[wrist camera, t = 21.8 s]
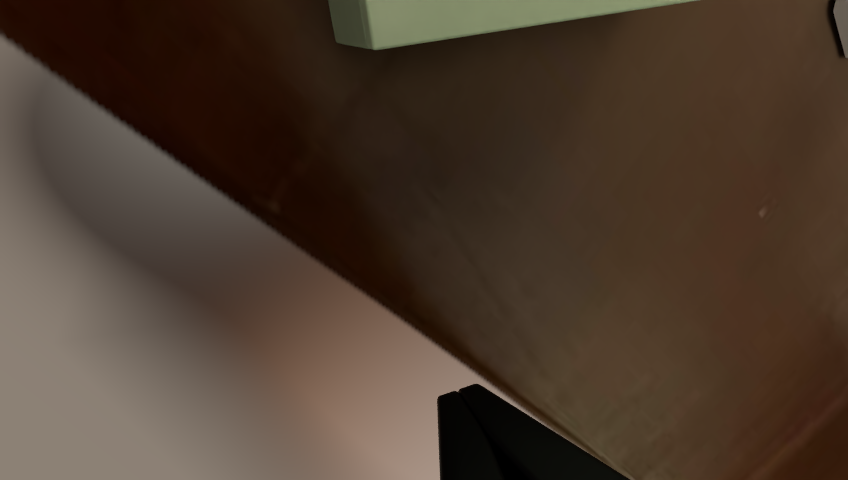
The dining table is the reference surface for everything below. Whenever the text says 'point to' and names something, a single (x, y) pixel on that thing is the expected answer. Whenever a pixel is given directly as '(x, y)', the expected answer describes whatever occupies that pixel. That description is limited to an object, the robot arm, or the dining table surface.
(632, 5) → the lid
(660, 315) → the dining table surface
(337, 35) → the file box
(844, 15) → the flask
